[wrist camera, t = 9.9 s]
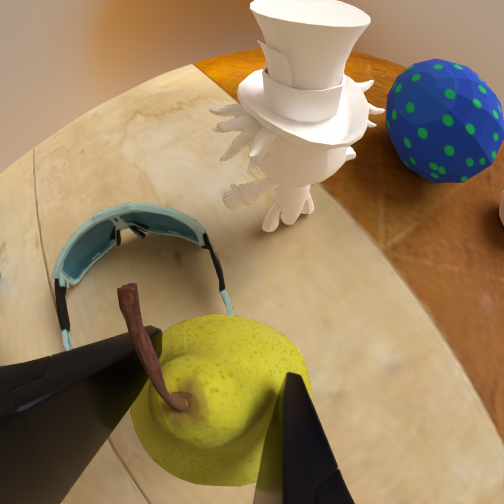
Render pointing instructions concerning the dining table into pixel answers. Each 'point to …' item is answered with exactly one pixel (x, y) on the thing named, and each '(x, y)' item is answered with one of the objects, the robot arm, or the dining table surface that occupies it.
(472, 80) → the polka dot ball
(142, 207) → the sunglasses
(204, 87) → the dining table surface
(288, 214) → the figurine
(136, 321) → the fruit
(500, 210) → the plain white apple
